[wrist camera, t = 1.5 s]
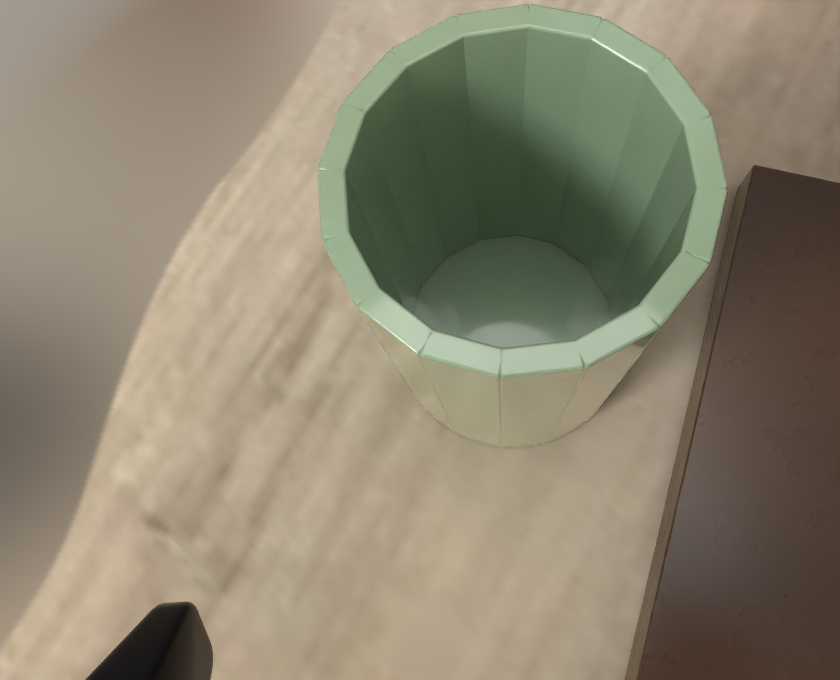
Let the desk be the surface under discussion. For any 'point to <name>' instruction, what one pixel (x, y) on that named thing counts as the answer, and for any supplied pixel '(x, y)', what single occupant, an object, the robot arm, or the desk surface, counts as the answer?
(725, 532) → the walnut board
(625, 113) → the pencil cup
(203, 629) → the robot arm
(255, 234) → the desk surface
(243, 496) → the desk surface
